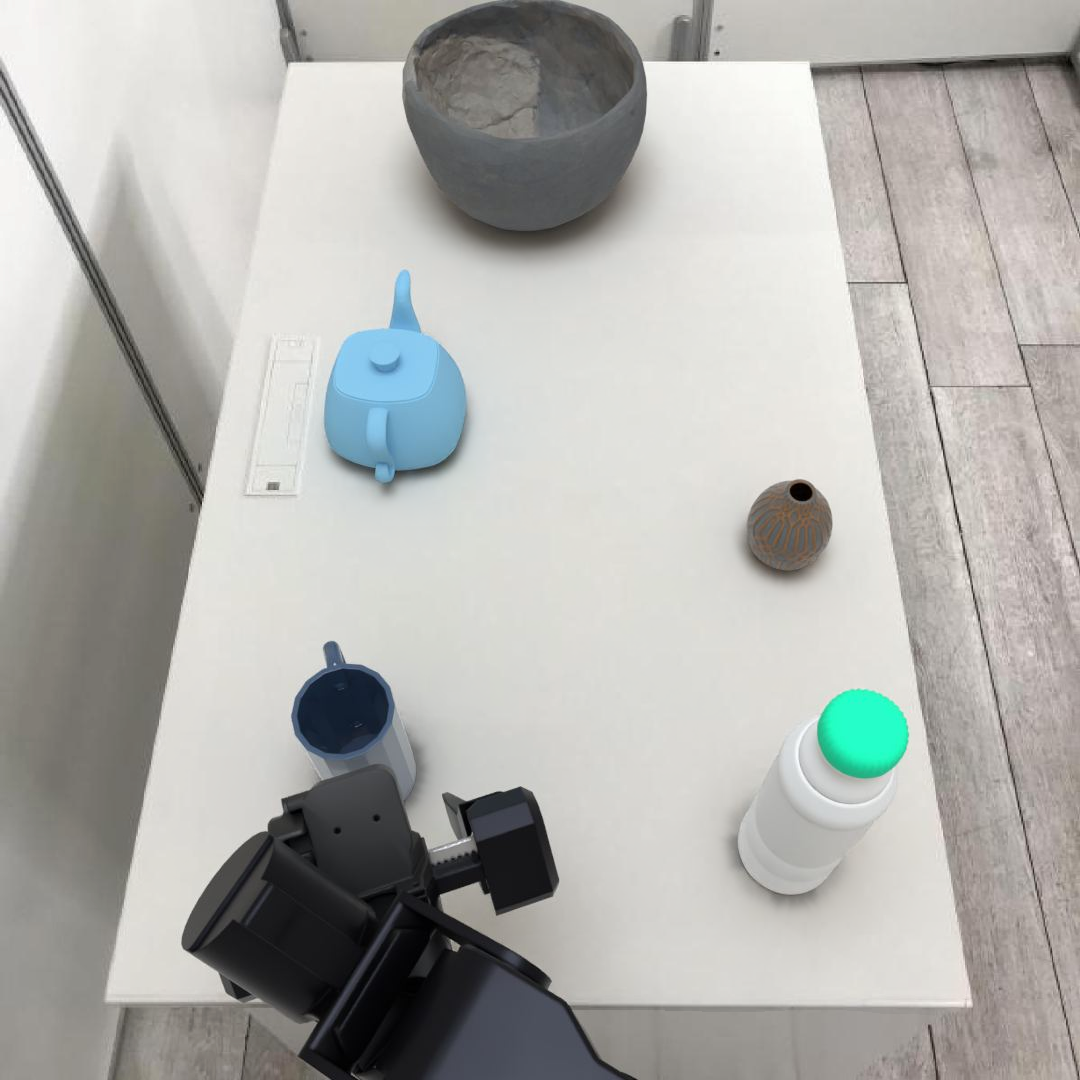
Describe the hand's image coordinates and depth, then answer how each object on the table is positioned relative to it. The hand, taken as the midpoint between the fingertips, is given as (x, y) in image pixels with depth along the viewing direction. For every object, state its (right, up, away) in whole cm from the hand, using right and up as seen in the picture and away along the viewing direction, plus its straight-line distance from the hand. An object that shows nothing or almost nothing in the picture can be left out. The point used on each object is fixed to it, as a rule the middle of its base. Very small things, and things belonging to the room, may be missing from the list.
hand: (375, 822), depth 66 cm
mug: (-3, +1, +16) cm, 17 cm away
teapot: (-3, +29, +33) cm, 44 cm away
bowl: (+9, +56, +50) cm, 75 cm away
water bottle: (+28, -5, +12) cm, 31 cm away
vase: (+31, +17, +26) cm, 44 cm away
